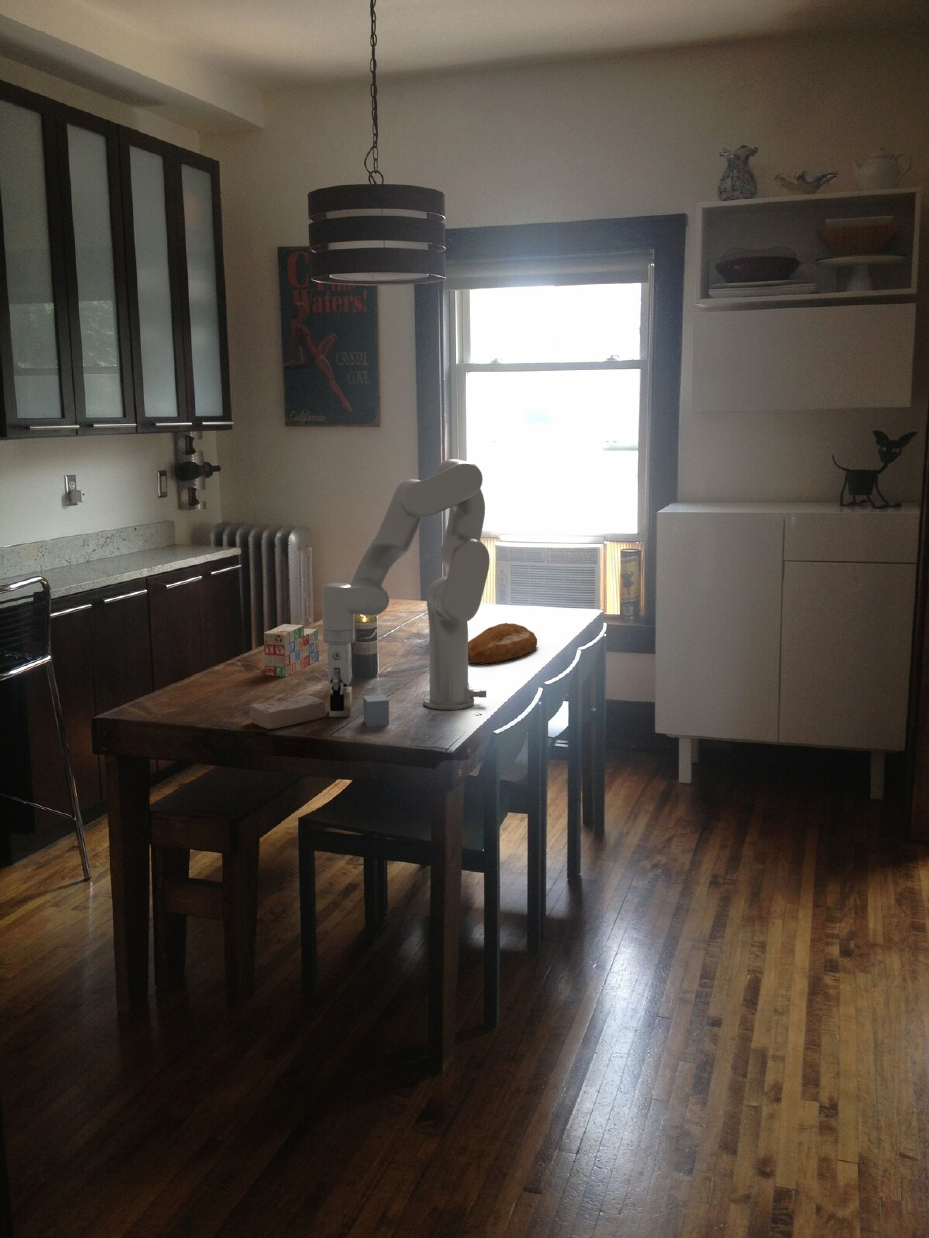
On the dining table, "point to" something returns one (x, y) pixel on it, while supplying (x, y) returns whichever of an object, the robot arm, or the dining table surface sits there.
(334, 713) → the beech block
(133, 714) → the dining table surface
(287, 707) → the brick
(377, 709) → the slate block
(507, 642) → the bread
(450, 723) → the dining table surface
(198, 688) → the dining table surface
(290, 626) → the stack of blocks
